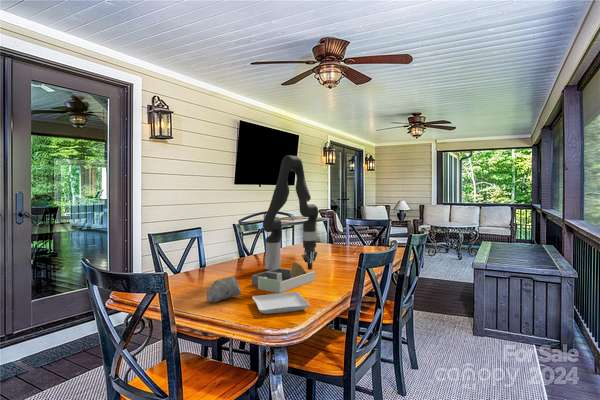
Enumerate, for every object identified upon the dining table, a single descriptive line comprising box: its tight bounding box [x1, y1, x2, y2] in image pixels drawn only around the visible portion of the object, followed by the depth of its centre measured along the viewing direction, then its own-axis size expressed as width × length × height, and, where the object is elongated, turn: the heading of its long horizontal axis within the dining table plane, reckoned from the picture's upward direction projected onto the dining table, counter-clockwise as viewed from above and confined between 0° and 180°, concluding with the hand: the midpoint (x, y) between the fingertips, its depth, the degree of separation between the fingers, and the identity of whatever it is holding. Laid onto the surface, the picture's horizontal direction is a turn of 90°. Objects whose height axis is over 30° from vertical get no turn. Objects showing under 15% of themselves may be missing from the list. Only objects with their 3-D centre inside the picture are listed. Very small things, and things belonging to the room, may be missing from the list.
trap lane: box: [251, 267, 316, 294], centre depth 204 cm, size 23×31×6 cm
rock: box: [290, 262, 307, 279], centre depth 209 cm, size 11×9×10 cm
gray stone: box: [205, 276, 242, 304], centre depth 174 cm, size 16×15×10 cm
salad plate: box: [251, 291, 310, 315], centre depth 162 cm, size 21×21×3 cm
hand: (309, 269), depth 218 cm, fingers closed
